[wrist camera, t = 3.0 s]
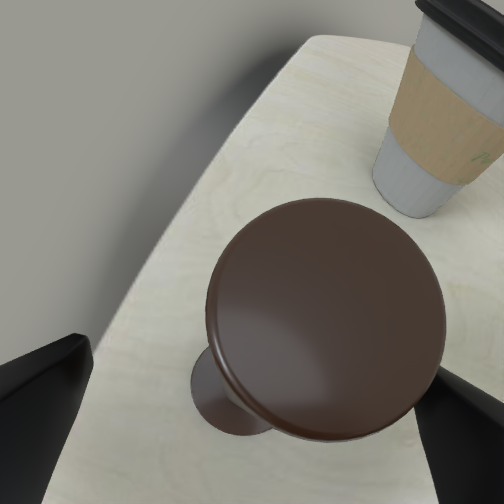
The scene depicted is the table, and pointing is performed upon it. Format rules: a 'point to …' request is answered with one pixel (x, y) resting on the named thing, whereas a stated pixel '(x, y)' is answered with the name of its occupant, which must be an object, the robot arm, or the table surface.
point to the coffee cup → (445, 108)
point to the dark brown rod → (318, 325)
